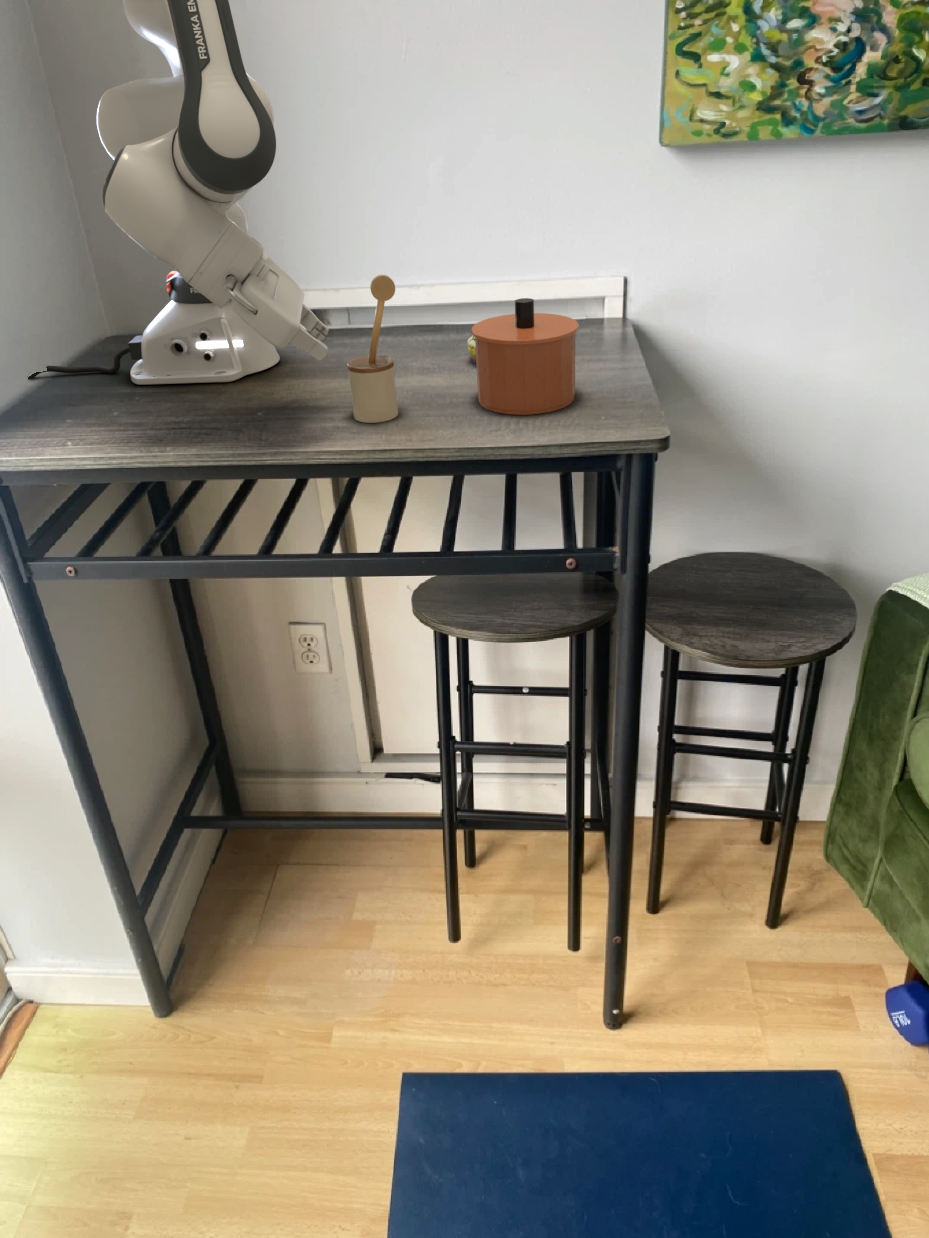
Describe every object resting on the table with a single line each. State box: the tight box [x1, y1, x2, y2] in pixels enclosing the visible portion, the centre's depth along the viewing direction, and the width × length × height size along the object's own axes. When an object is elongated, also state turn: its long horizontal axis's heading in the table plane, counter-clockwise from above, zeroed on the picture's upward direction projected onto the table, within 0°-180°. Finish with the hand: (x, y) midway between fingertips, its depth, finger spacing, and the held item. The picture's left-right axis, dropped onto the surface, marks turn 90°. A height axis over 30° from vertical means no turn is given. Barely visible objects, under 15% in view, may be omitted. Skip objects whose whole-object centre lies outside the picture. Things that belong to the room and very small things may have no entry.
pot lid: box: [471, 297, 579, 345], centre depth 119 cm, size 14×14×4 cm
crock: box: [346, 274, 399, 424], centre depth 118 cm, size 7×6×17 cm
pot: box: [475, 332, 577, 416], centre depth 122 cm, size 13×13×9 cm
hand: (325, 345), depth 117 cm, fingers open, 8 cm apart
